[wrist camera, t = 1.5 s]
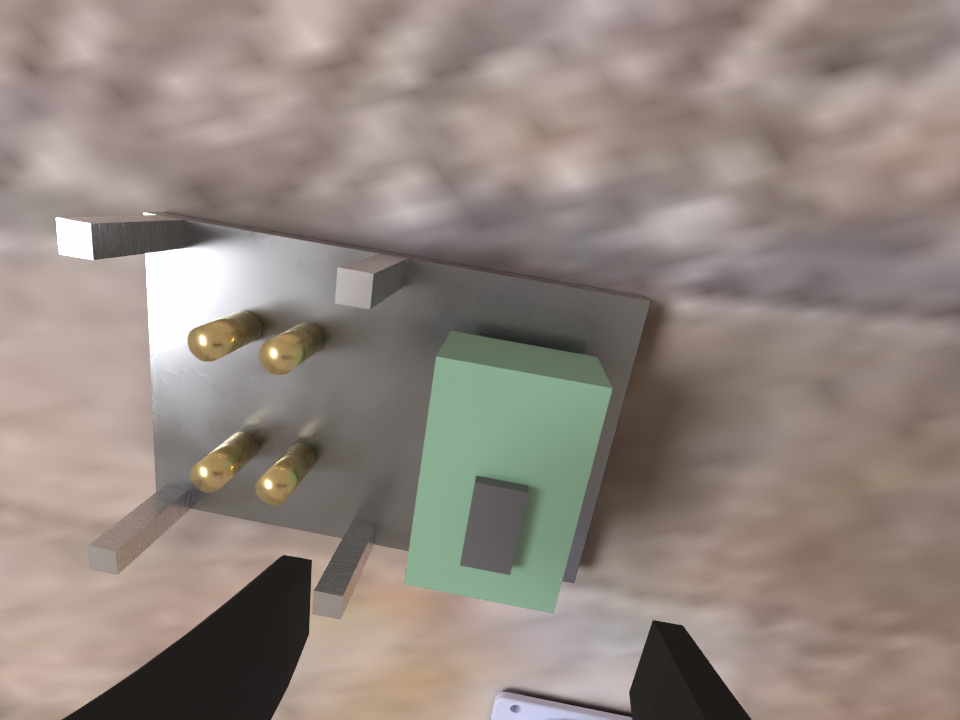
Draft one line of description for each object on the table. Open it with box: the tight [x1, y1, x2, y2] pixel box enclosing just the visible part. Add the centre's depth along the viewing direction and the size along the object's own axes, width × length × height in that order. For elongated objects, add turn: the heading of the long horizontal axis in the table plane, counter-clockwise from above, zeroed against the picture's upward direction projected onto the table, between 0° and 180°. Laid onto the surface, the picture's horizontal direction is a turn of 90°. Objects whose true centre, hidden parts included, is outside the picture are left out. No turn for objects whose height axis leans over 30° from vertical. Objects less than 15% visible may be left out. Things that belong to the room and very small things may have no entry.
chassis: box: [56, 212, 651, 619], centre depth 18 cm, size 18×12×5 cm, turn 81°
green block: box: [404, 331, 612, 614], centre depth 16 cm, size 5×8×3 cm, turn 171°
